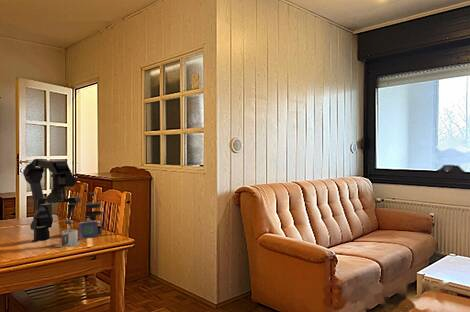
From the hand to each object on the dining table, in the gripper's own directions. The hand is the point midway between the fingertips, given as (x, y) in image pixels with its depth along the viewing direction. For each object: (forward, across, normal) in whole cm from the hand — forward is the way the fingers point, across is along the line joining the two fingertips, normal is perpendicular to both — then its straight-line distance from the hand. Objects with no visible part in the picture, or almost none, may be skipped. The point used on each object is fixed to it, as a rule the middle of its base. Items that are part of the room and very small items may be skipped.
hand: (59, 218), depth 176 cm
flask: (+13, +9, +12) cm, 20 cm away
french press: (+13, +8, +24) cm, 29 cm away
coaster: (+13, +5, -2) cm, 14 cm away
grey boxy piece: (+12, +5, -3) cm, 14 cm away
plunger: (+7, +5, -2) cm, 9 cm away
